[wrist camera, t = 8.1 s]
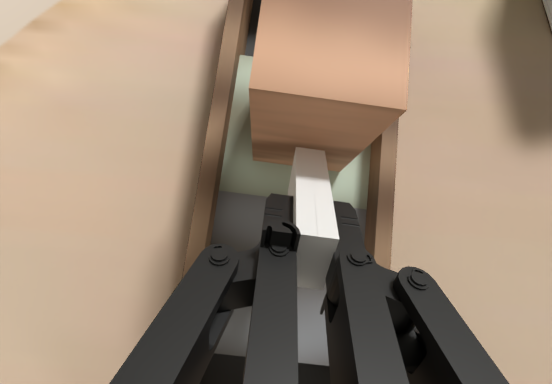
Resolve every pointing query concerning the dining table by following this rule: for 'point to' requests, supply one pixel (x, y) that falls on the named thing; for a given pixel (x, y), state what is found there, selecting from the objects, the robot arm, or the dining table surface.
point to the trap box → (256, 189)
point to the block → (327, 76)
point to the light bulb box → (548, 10)
